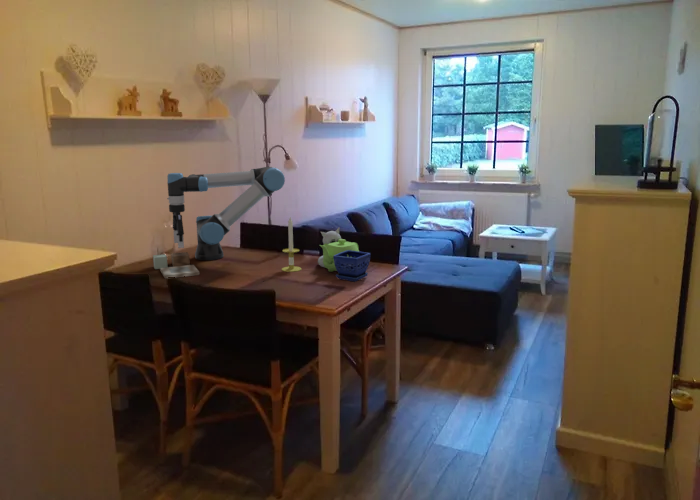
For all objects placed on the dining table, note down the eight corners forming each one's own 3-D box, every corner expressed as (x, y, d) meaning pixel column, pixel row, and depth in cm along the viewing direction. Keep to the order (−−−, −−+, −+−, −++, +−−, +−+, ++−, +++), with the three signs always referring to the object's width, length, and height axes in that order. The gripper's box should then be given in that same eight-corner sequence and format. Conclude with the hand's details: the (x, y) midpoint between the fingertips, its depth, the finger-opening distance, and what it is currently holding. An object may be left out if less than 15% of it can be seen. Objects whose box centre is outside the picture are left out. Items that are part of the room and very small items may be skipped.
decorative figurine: (322, 270, 276) (322, 230, 272) (314, 263, 290) (313, 225, 285) (350, 267, 281) (350, 228, 277) (341, 261, 295) (341, 224, 290)
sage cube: (166, 265, 287) (165, 254, 285) (167, 268, 281) (166, 256, 280) (153, 266, 284) (152, 255, 283) (155, 269, 279) (154, 257, 277)
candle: (305, 268, 280) (304, 215, 275) (295, 272, 272) (293, 218, 266) (288, 266, 285) (286, 214, 279) (277, 270, 276) (276, 216, 270)
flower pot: (357, 283, 252) (357, 258, 249) (332, 279, 258) (332, 254, 256) (371, 277, 263) (371, 252, 260) (347, 273, 270) (347, 249, 267)
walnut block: (188, 263, 292) (187, 252, 291) (190, 266, 285) (189, 255, 283) (172, 264, 289) (171, 253, 288) (173, 268, 282) (172, 256, 280)
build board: (193, 267, 282) (193, 264, 281) (199, 274, 268) (199, 271, 267) (160, 270, 275) (160, 267, 275) (164, 278, 261) (164, 275, 261)
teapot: (339, 262, 292) (339, 232, 288) (368, 270, 276) (369, 238, 273) (302, 270, 275) (301, 239, 271) (331, 279, 259) (331, 246, 256)
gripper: (165, 201, 289) (168, 241, 294) (172, 207, 267) (175, 250, 272) (180, 200, 293) (182, 240, 297) (188, 206, 271) (190, 249, 275)
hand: (179, 245), depth 284 cm, fingers open, 13 cm apart
